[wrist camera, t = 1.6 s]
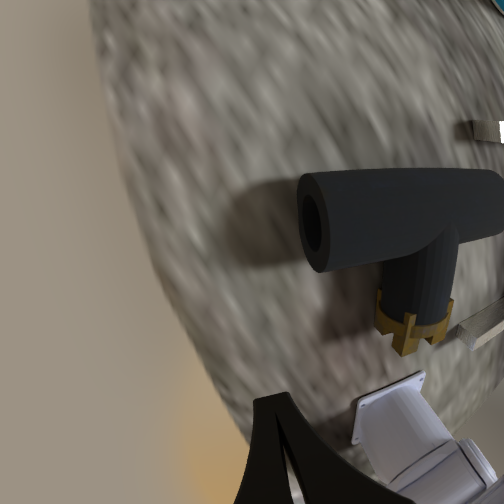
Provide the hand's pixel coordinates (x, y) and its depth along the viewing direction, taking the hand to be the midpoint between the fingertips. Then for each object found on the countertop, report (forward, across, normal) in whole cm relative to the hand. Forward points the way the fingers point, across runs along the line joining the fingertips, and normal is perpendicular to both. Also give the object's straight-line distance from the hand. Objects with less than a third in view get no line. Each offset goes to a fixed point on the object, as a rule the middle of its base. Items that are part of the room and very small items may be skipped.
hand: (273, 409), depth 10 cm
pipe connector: (+9, -11, -1) cm, 14 cm away
